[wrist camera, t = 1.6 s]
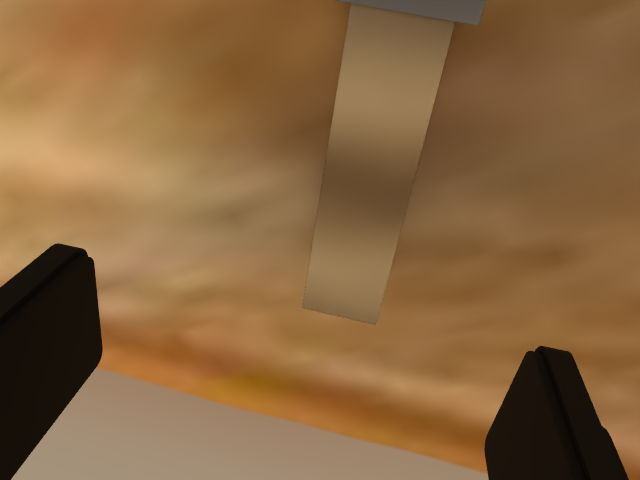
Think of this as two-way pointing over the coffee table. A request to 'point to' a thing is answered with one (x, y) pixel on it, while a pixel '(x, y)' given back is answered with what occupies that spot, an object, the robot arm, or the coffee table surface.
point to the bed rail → (376, 146)
